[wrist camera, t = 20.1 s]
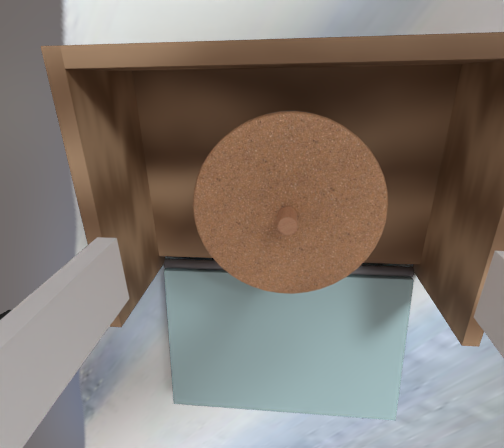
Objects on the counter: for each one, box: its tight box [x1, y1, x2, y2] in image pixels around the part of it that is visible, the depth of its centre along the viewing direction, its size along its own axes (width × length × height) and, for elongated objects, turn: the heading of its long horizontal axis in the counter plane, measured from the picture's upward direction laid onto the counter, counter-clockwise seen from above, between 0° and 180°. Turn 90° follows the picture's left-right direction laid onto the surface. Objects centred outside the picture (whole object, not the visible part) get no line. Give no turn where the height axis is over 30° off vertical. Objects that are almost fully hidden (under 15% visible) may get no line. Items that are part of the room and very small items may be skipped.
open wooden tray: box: [41, 32, 504, 346], centre depth 23 cm, size 17×24×9 cm
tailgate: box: [164, 259, 414, 420], centre depth 31 cm, size 1×21×15 cm
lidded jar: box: [193, 110, 388, 294], centre depth 21 cm, size 11×11×9 cm
